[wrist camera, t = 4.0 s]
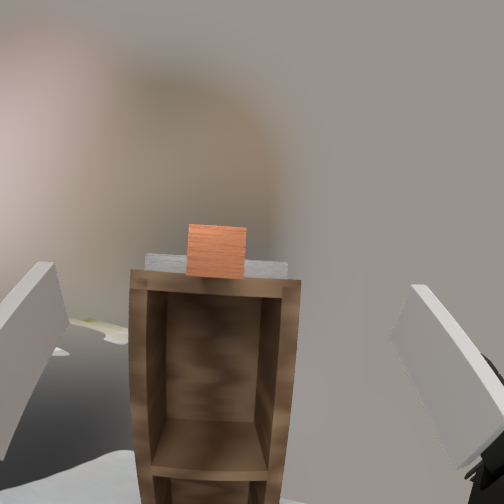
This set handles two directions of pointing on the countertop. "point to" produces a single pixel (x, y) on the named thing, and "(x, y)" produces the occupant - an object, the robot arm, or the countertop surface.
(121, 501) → the countertop surface
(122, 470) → the countertop surface
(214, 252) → the turner
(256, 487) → the shelf stand
